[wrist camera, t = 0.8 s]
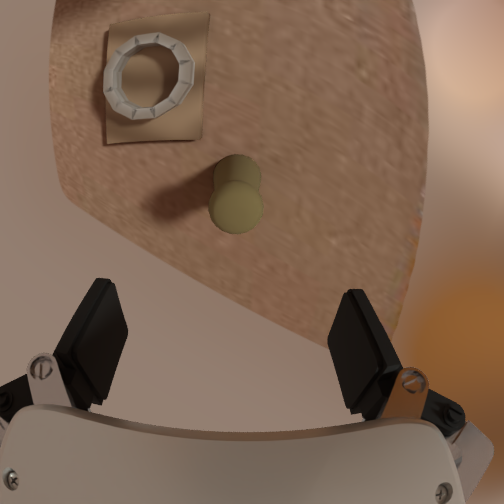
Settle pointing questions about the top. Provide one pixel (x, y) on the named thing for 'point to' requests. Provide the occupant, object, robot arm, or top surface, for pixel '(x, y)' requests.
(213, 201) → the olive green peg
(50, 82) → the top surface
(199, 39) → the socket board
